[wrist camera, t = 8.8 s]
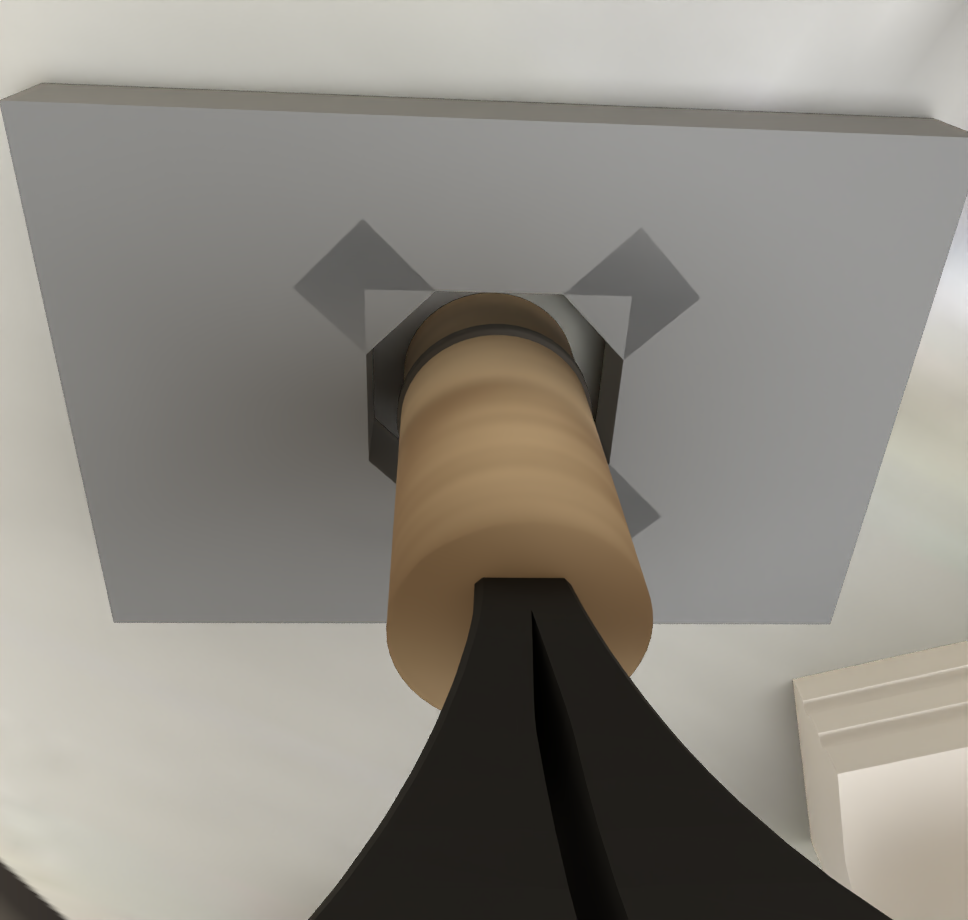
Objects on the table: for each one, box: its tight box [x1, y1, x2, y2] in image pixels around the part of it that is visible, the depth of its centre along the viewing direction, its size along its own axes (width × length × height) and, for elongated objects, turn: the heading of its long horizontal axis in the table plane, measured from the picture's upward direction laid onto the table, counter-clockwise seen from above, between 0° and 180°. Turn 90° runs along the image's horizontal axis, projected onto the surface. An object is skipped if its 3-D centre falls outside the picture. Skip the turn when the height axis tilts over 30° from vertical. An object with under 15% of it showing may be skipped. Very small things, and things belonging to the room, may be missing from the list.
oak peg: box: [386, 293, 653, 710], centre depth 17 cm, size 4×4×9 cm
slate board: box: [0, 83, 968, 624], centre depth 20 cm, size 12×18×2 cm, turn 87°
